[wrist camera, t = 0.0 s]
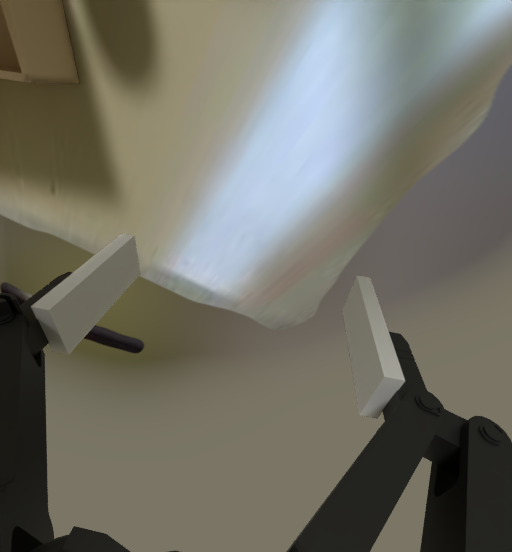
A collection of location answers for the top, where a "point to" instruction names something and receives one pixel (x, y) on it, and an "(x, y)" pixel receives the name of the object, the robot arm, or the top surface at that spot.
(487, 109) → the top surface
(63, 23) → the carton
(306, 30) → the top surface
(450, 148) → the top surface
